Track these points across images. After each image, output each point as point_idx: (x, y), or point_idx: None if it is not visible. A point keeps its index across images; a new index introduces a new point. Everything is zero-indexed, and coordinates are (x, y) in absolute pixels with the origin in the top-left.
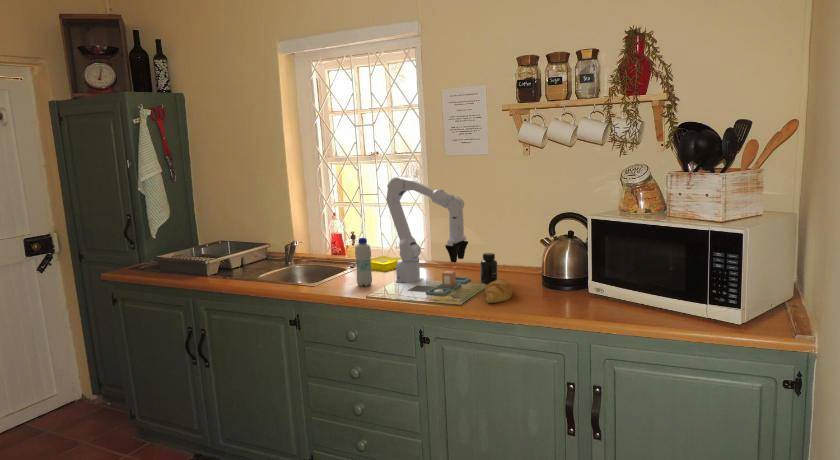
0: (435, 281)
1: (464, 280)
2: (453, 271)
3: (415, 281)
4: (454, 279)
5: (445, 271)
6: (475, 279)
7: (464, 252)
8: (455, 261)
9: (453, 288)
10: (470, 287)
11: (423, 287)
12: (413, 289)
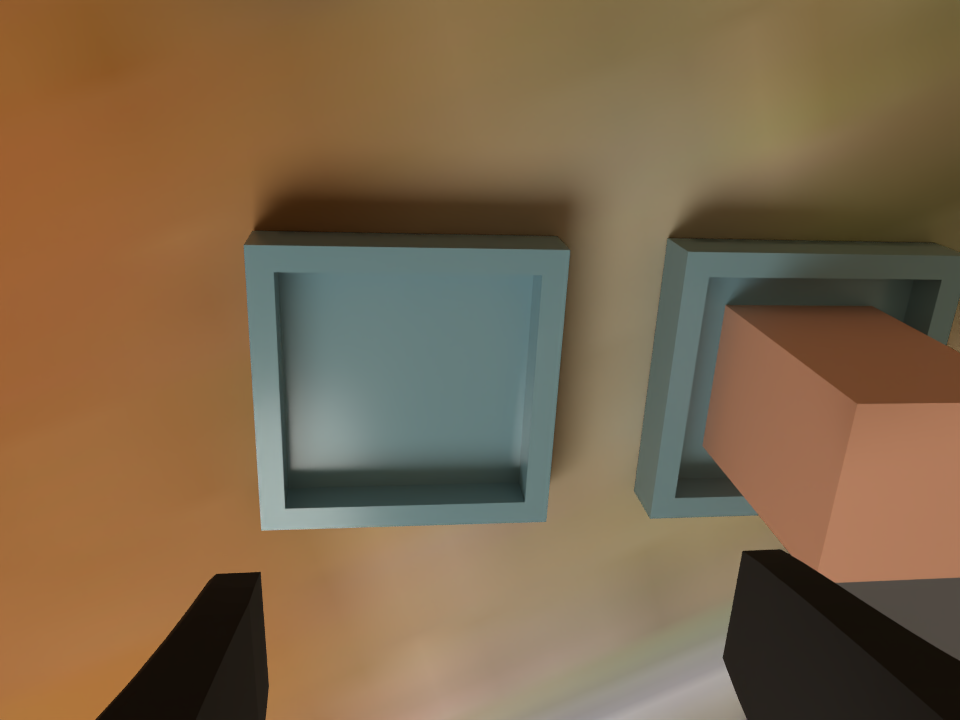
0: (441, 683)
1: (486, 269)
2: (869, 437)
3: None
4: (832, 346)
5: (875, 571)
6: (81, 190)
7: (152, 687)
8: (803, 568)
9: (955, 259)
10: (695, 66)
11: None
12: None
